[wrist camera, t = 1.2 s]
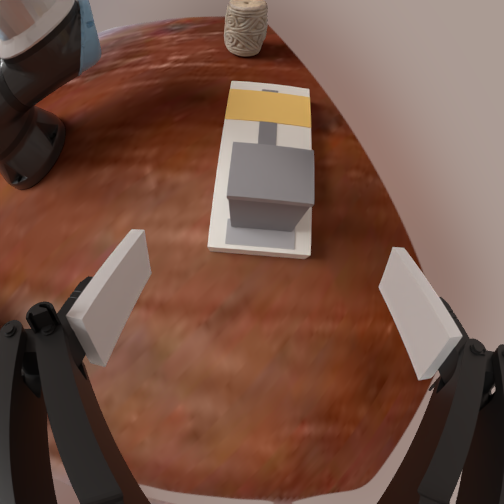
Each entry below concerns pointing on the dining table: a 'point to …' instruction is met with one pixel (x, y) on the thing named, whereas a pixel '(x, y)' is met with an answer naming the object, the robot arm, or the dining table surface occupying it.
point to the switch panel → (270, 133)
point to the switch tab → (269, 186)
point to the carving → (245, 26)
